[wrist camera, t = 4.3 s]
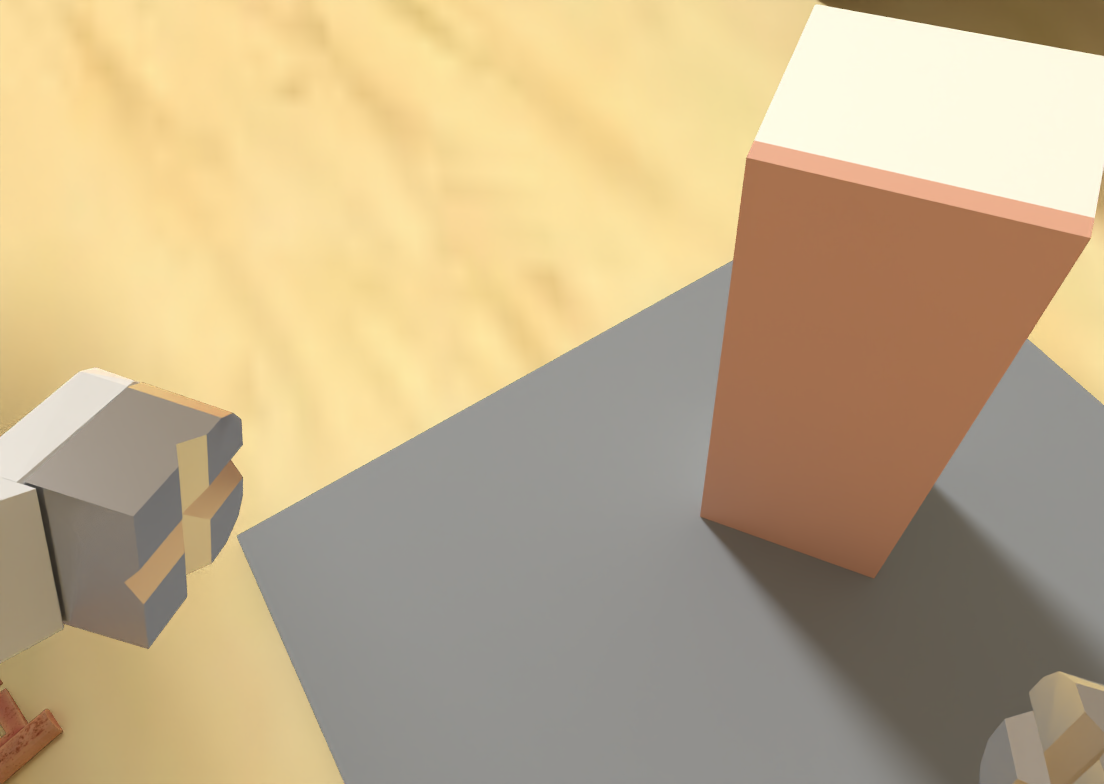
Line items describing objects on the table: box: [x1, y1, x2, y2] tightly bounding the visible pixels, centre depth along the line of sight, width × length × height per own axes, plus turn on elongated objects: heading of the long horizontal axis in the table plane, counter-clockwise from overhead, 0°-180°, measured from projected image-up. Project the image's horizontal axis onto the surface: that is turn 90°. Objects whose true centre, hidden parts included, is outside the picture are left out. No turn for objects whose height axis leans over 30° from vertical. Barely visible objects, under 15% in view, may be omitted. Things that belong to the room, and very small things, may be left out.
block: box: [700, 4, 1104, 578], centre depth 20 cm, size 4×5×14 cm
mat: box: [237, 261, 1104, 784], centre depth 25 cm, size 24×20×1 cm
